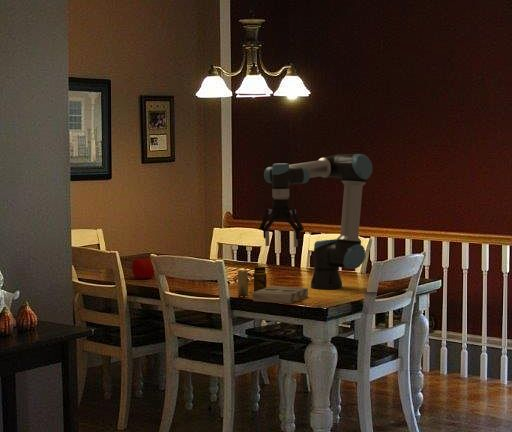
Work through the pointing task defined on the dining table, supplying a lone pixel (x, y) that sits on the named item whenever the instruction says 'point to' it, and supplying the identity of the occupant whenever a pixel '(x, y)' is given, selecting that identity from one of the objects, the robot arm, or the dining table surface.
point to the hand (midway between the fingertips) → (281, 246)
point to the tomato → (142, 268)
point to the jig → (280, 294)
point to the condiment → (259, 278)
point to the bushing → (243, 283)
